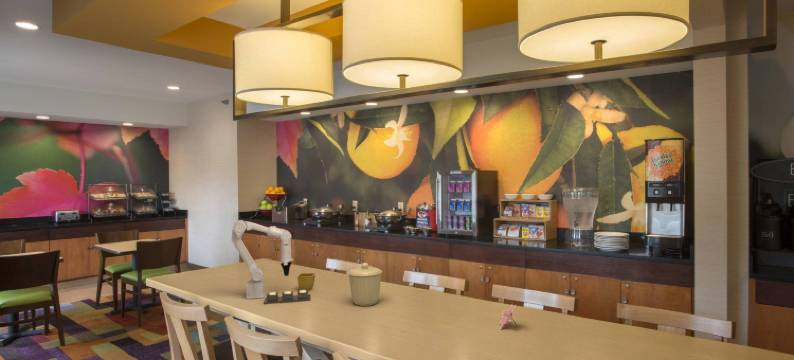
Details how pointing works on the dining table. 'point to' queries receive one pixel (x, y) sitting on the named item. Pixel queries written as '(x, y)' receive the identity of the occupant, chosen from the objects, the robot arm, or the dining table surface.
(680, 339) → the dining table surface
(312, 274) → the flower pot
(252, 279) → the robot arm
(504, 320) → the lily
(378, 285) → the canister
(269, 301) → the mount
